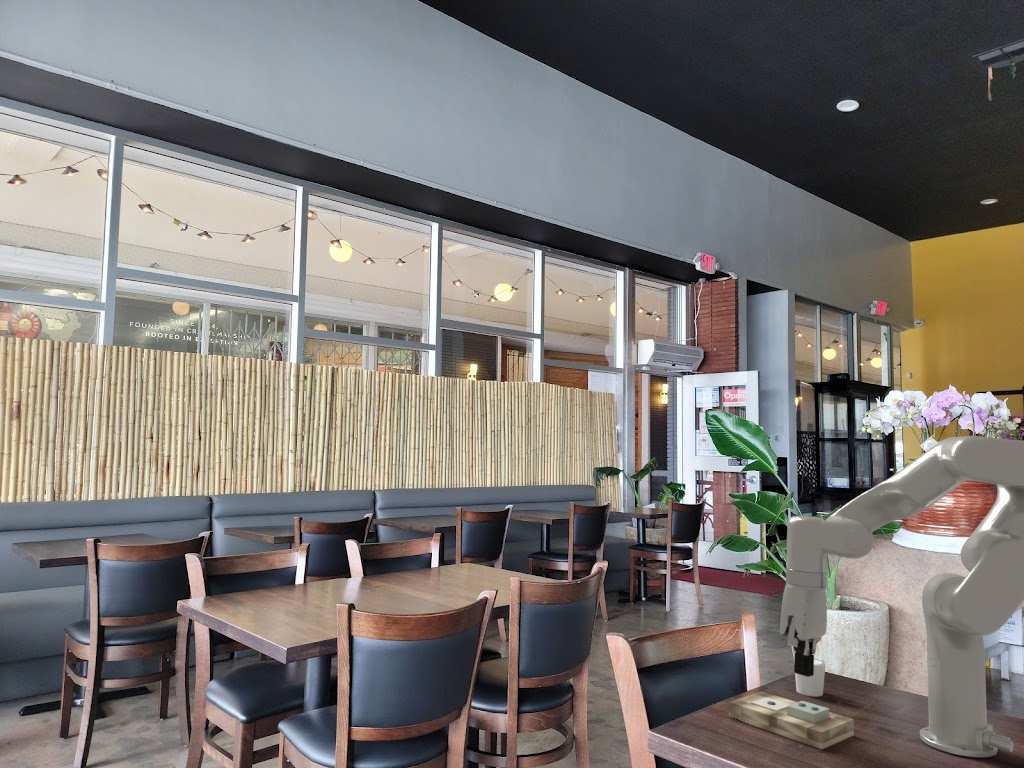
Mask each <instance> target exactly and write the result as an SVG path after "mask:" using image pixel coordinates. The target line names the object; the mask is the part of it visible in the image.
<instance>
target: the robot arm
mask: <svg viewBox="0 0 1024 768" xmlns="http://www.w3.org/2000/svg"><path fill="white" fill-rule="evenodd" d="M965 482H979V483H980V482H981V483H987V484H992V485H993V484H994V485H996V488H997V490H996V491H997V493H996V499H995V502H994V503H993V505H992V507H991V508H990V509H989V511H988V512H987V514H986V515H985V517H984V518H983V519H982V521H981V522H980V523H979V524H978V525H977V527H976V528H975V529H974V530H973V532H972V533H971V534H970V536H969V537H967V539H966V540H965V542H964V543H963V545H962V547H961V549H960V550H961V551H960V560H961V563H962V565H963V566H964V567H965V569H966V570H967V571H968V574H967V575H966V576H963V575H960V574H956V573H951V572H949V573H948V572H947V573H946V572H944V573H940V574H936V575H934V576H932V577H931V578H930V579H928V581H927V582H926V583H925V585H924V587H923V589H922V595H921V596H922V597H921V603H922V606H921V607H922V612H923V617H924V623H925V632H926V651H927V653H926V654H927V656H926V659H927V661H926V663H927V701H928V705H927V706H928V708H927V709H928V726H926V727H923V728H921V729H920V730H919V739H920V740H921V741H922V742H923V743H925V744H926V745H928V746H929V747H932V748H934V749H936V750H939V751H941V752H945V753H949V754H953V755H957V756H963V757H967V758H968V757H969V758H990V757H994V756H996V755H997V754H998V753H997V752H999V750H998V749H1000V750H1002V751H1005V752H1009V753H1013V751H1014V742H1013V740H1011V738H1010V737H1007V736H1004V735H1000V734H997V733H996V732H995V731H994V727H993V725H994V724H992V723H991V724H990V723H988V719H987V718H988V716H987V715H988V714H987V711H988V710H987V684H986V683H987V681H986V648H985V643H984V637H985V636H989V635H992V634H994V633H996V632H997V631H998V630H1000V629H1001V628H1002V627H1003V626H1004V625H1006V623H1007V622H1008V621H1009V620H1010V618H1011V617H1012V616H1013V614H1014V613H1015V612H1016V610H1017V609H1018V608H1019V606H1021V604H1023V603H1022V602H1023V601H1024V440H1022V439H1021V440H1019V439H1008V438H1007V439H1005V438H996V437H989V436H988V437H987V436H986V437H985V436H977V435H975V436H974V435H966V436H963V435H962V436H950V437H947V438H945V439H942V440H940V441H939V442H937V443H936V444H935V445H933V446H932V447H930V448H929V449H928V450H926V451H925V452H924V453H922V454H920V456H918V457H917V458H915V459H914V460H913V461H911V462H910V463H908V464H907V465H906V466H905V467H903V468H901V469H900V470H899V471H897V472H896V473H894V474H893V475H892V476H890V477H889V478H887V479H885V480H884V481H881V482H880V483H878V484H876V485H874V486H873V487H872V488H871V489H868V490H867V491H865V492H863V493H861V494H859V495H858V496H856V497H855V498H854V499H851V500H850V501H849V502H847V503H846V504H845V505H843V506H842V507H841V508H839V509H838V510H837V511H835V512H834V513H832V514H831V515H830V516H828V517H827V518H826V519H823V518H821V517H818V516H816V517H815V516H807V515H793V516H791V517H789V519H788V520H787V529H786V530H787V534H786V564H785V566H786V569H785V571H786V572H785V586H784V590H783V593H782V594H783V596H782V601H781V608H780V612H781V613H780V623H779V633H780V635H781V636H782V637H787V641H786V642H787V645H788V646H790V647H792V651H793V653H794V659H793V667H794V668H793V669H794V670H793V671H794V674H795V673H796V674H800V675H803V676H807V677H809V676H813V675H814V659H815V654H816V651H817V644H818V643H820V642H821V640H822V637H823V636H825V635H826V633H827V626H828V625H827V623H828V613H827V612H828V609H827V593H826V590H827V585H828V584H827V583H828V582H827V580H828V578H827V577H828V575H827V574H828V573H827V572H828V555H831V556H836V557H840V558H845V559H852V560H853V559H861V558H863V557H866V556H867V555H868V554H870V552H871V551H872V550H873V548H874V546H875V545H874V544H875V539H874V538H875V537H874V535H873V533H874V532H875V531H877V530H878V529H879V528H882V527H883V526H885V525H888V524H890V523H892V522H894V521H898V520H901V519H902V520H903V519H907V518H911V517H913V516H916V515H919V514H922V513H923V512H925V511H927V510H928V509H929V508H931V507H932V506H933V505H935V504H936V503H937V502H938V501H940V500H942V499H943V498H945V496H947V495H948V494H949V493H951V492H952V491H954V490H955V489H957V488H958V487H959V486H961V485H962V484H964V483H965Z"/></svg>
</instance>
